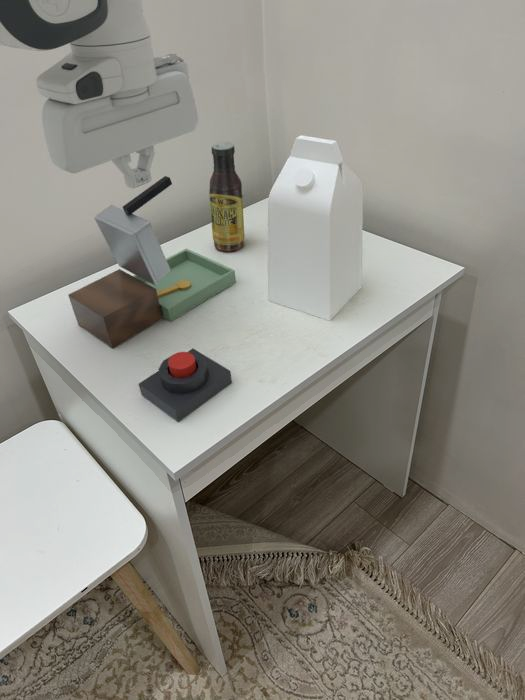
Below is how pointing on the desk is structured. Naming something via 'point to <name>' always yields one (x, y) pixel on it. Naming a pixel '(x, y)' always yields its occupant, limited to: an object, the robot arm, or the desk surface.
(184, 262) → the tray
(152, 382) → the grey button base
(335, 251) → the milk
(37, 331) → the desk surface
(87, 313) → the stand
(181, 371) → the bell button
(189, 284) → the tan wooden spoon shape
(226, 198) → the sauce bottle
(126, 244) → the grey dustpan
